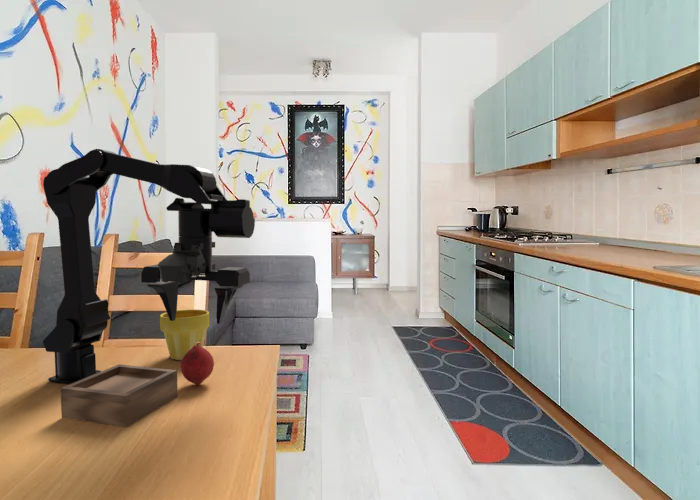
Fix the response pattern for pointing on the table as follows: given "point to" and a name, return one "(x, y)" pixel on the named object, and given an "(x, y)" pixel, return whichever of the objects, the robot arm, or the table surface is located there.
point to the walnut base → (119, 395)
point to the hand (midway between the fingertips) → (195, 322)
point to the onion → (197, 364)
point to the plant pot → (184, 330)
